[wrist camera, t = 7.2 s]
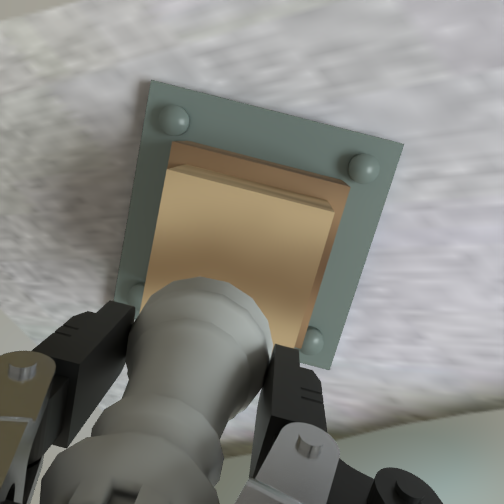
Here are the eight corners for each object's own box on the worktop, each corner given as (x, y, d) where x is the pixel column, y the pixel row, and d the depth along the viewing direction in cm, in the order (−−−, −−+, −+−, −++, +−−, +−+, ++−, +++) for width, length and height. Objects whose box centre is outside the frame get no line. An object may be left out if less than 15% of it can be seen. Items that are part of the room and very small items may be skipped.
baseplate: (156, 81, 28) (147, 78, 26) (400, 143, 28) (407, 144, 26) (116, 307, 32) (107, 317, 30) (328, 363, 32) (330, 376, 30)
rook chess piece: (274, 273, 14) (254, 450, 6) (273, 400, 15) (255, 689, 7) (134, 270, 14) (-59, 433, 6) (143, 394, 15) (-10, 661, 7)
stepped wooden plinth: (188, 140, 28) (149, 142, 20) (341, 179, 27) (362, 196, 20) (159, 285, 30) (115, 335, 23) (299, 321, 30) (303, 385, 22)
